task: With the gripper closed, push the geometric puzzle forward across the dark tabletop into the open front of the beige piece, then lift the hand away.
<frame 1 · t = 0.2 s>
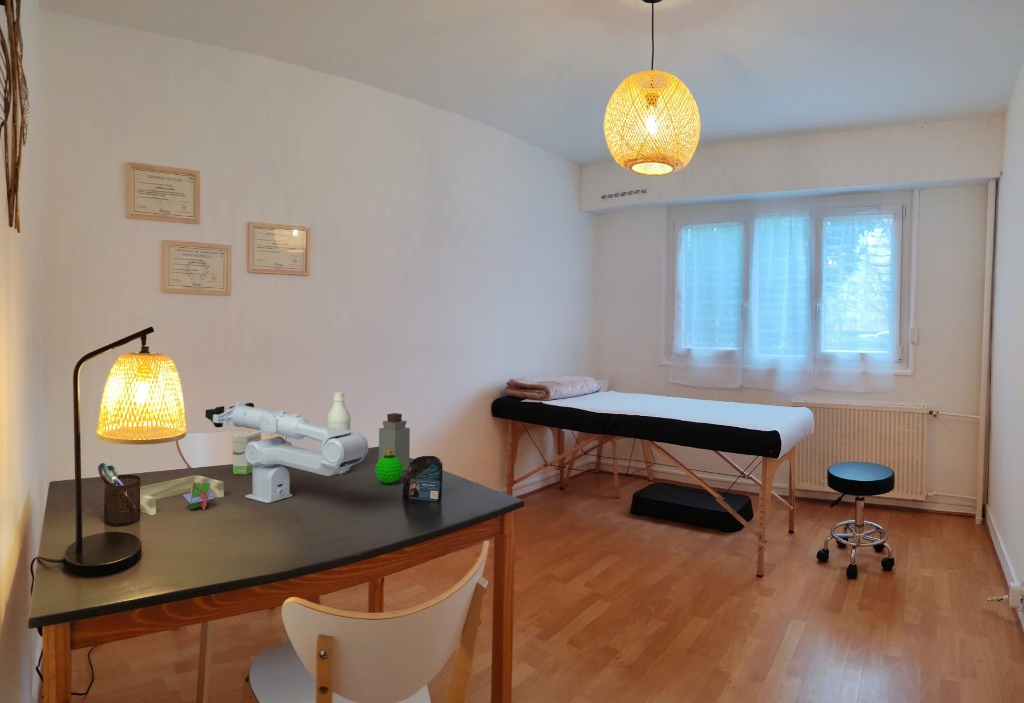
hand: (219, 411, 176), 21 cm above the table, tool horizontal, fingers open, 7 cm apart
perfume bottle: (394, 471, 199), on the table
ink box: (247, 471, 195), on the table
beige piece: (176, 501, 163), on the table
water bottle: (338, 473, 195), on the table
ornament: (389, 483, 184), on the table
geometric puzzle: (199, 509, 158), on the table
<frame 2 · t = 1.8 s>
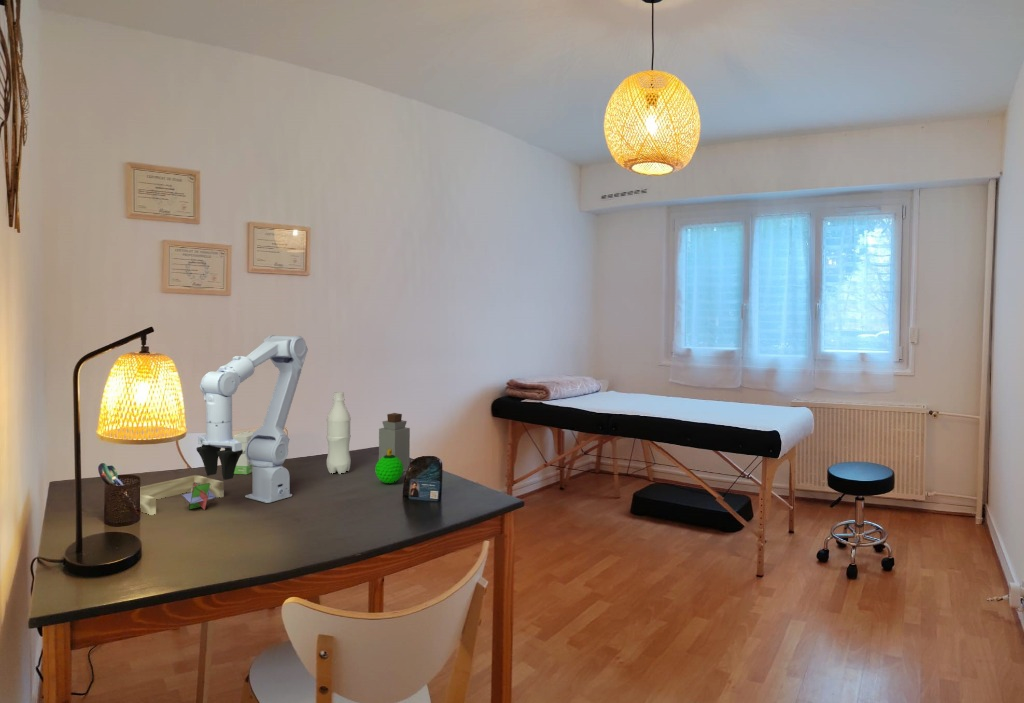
hand: (219, 476, 153), 9 cm above the table, tool pointing down, fingers open, 6 cm apart
nothing on the table moved.
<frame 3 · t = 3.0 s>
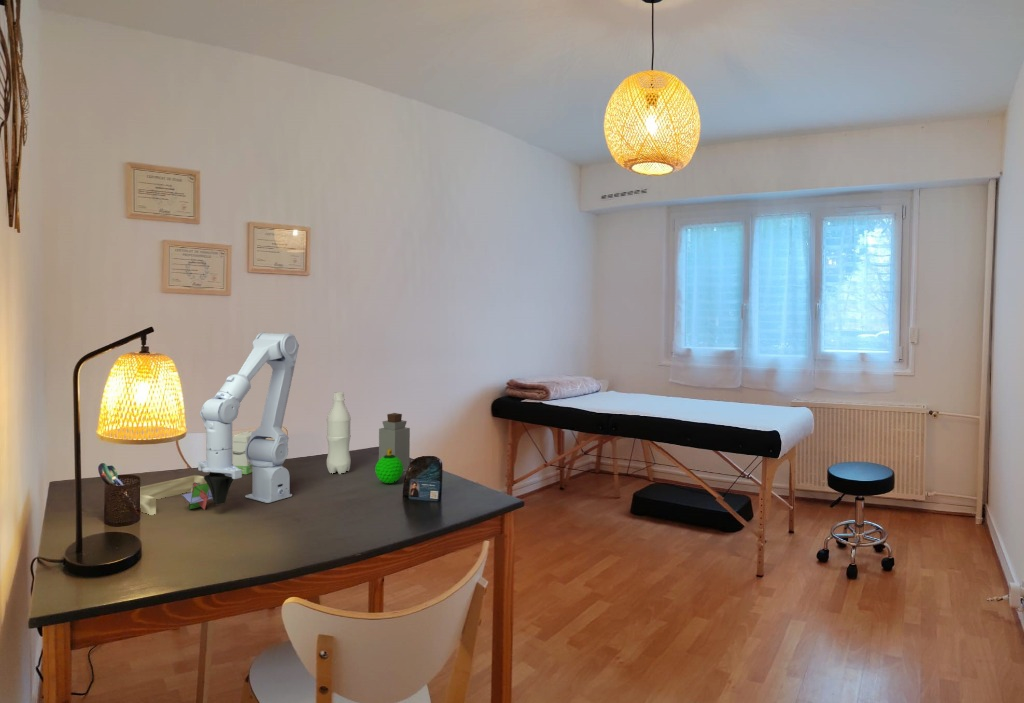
hand: (219, 503, 153), 3 cm above the table, tool pointing down, fingers closed
nothing on the table moved.
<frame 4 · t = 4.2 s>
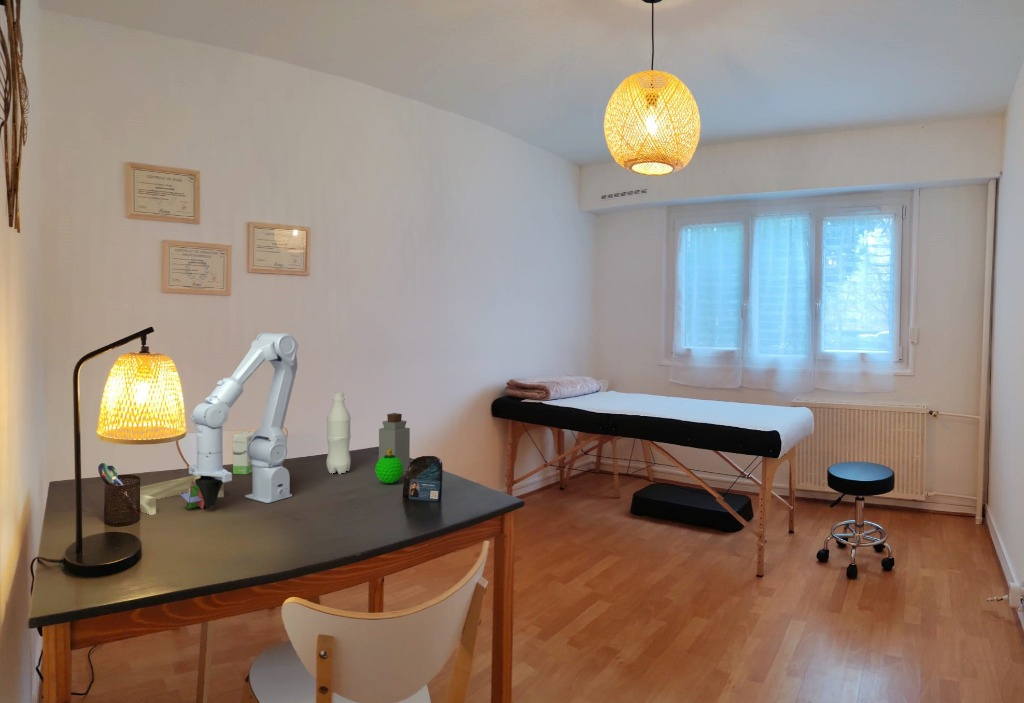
hand: (210, 506, 155), 1 cm above the table, tool pointing down, fingers closed
geometric puzzle: (197, 508, 158), on the table, touching gripper
everything else where it was.
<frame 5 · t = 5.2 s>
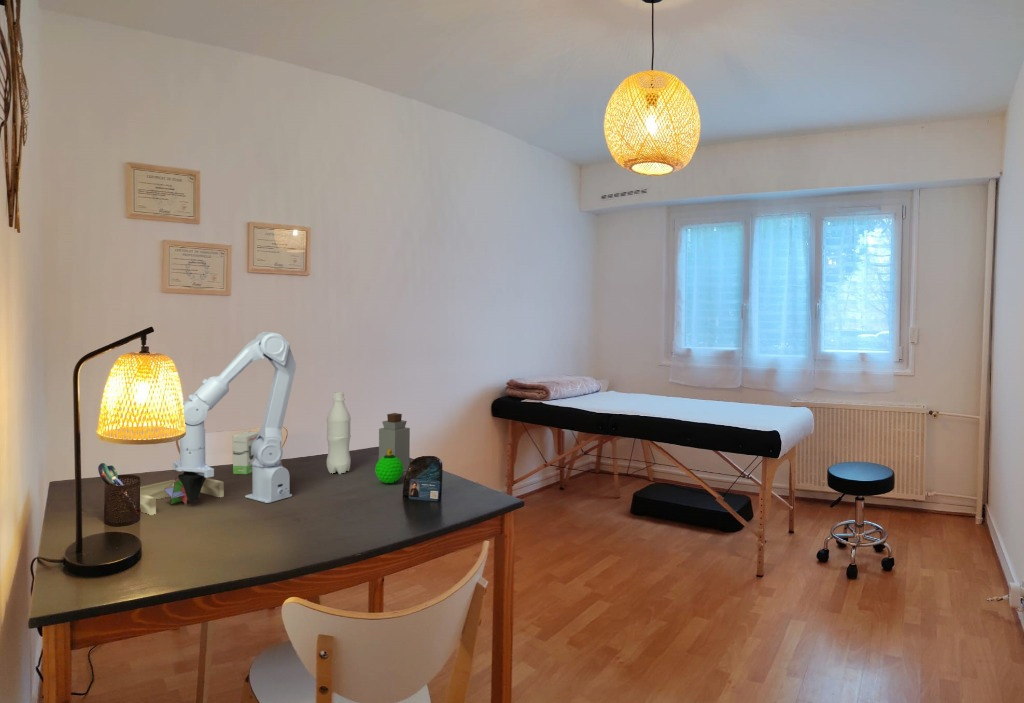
hand: (193, 501, 159), 1 cm above the table, tool pointing down, fingers closed
geometric puzzle: (180, 504, 162), on the table, touching gripper
everything else where it was.
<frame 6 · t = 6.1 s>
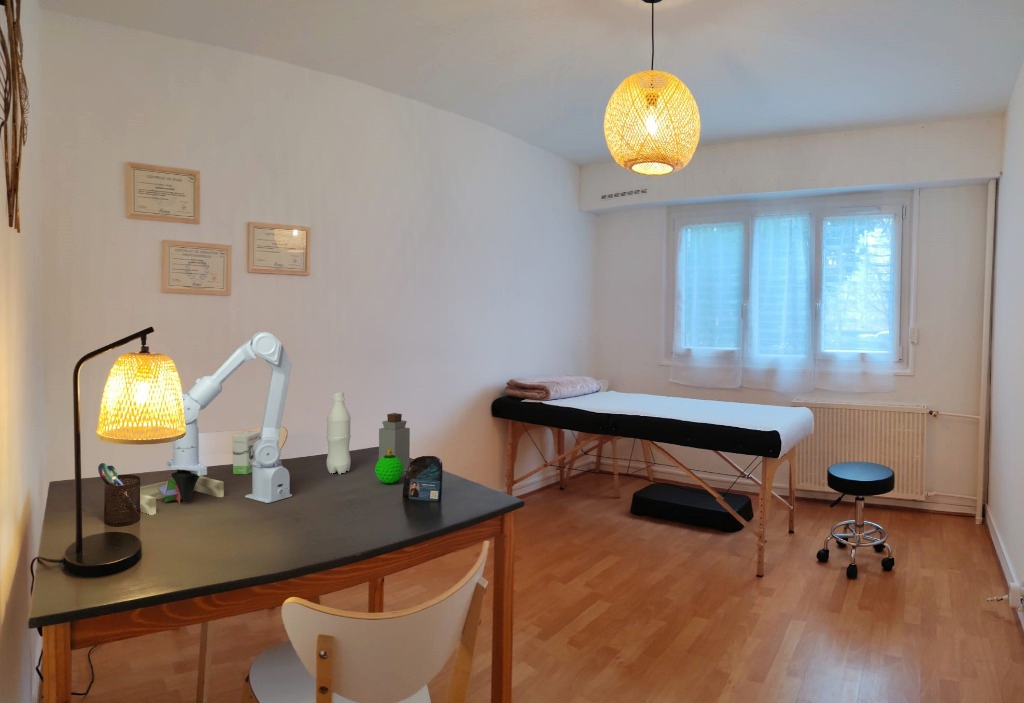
hand: (186, 499, 160), 1 cm above the table, tool pointing down, fingers closed
geometric puzzle: (174, 502, 163), on the table, touching gripper
everything else where it was.
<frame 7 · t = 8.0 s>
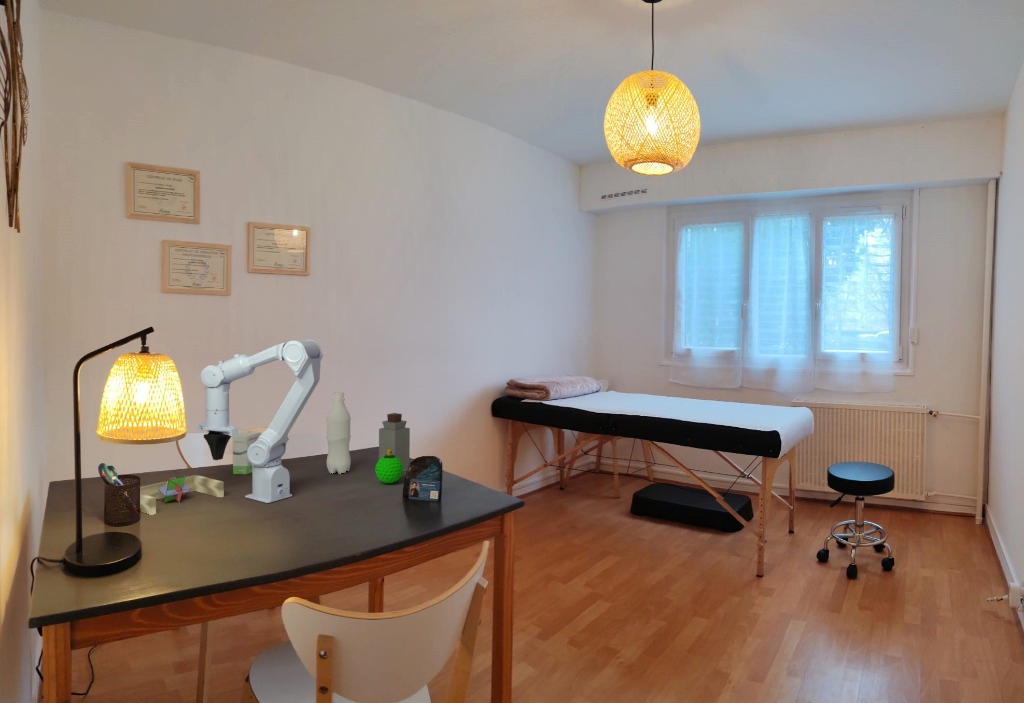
hand: (217, 459, 170), 9 cm above the table, tool pointing down, fingers closed
geometric puzzle: (174, 502, 163), on the table
everything else where it was.
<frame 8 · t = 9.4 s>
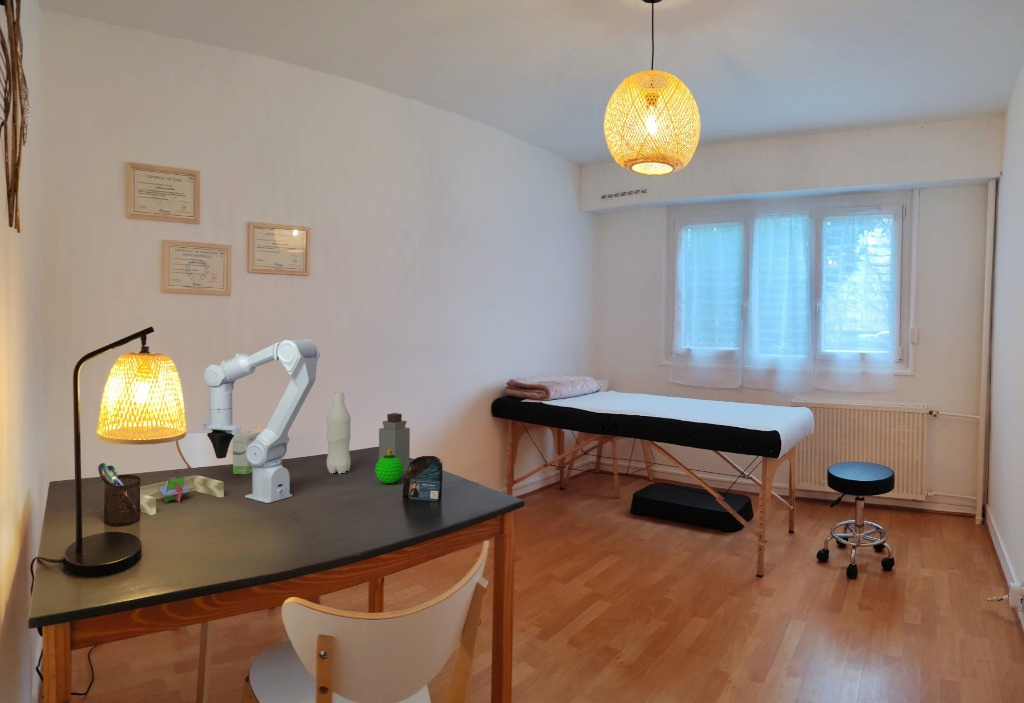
hand: (221, 457, 172), 9 cm above the table, tool pointing down, fingers closed
nothing on the table moved.
at the end: geometric puzzle inside the target area on the beige piece (0.5 cm from its centre), point 0.0 cm above the beige piece's base; geometric puzzle tilted 1° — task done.
